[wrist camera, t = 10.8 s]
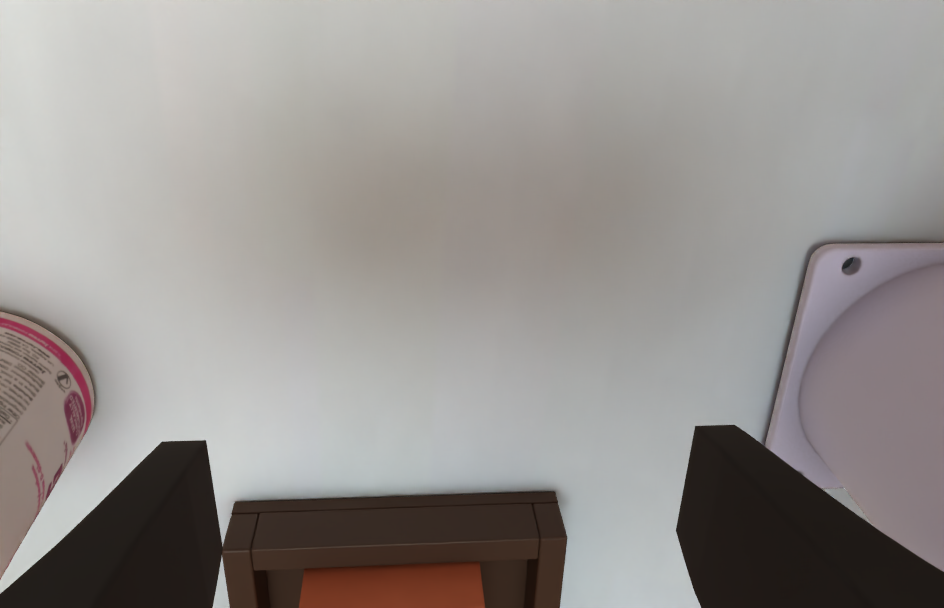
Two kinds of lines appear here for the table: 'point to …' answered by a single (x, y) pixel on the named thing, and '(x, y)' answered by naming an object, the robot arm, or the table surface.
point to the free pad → (394, 586)
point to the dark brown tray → (398, 543)
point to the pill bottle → (36, 422)
